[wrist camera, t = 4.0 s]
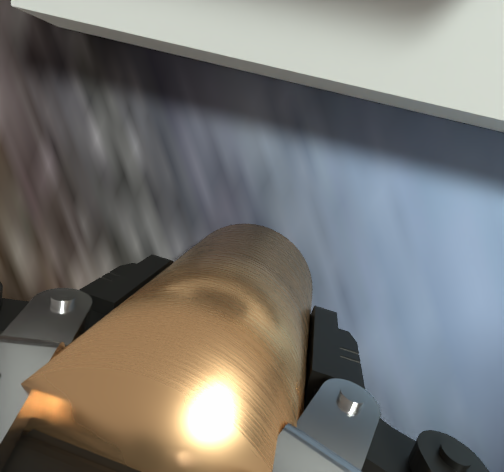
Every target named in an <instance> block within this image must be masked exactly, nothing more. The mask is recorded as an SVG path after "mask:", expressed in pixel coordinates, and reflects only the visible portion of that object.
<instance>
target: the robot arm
mask: <svg viewBox="0 0 504 472" xmlns="http://www.w3.org/2000/svg"><path fill="white" fill-rule="evenodd" d="M172 263H173V261H172V260H168V259H165V258H162V257H159V256H156V255H150V256H149V257H147V258H146V259H144V260H142V261H141V262H139V263H138V264H135V263H131V264H126V265H122V266H119V267H117V268H116V269H114V270H112V271H110V273H107V274H105V275H104V276H102V278H99V279H97V280H95V281H94V282H92V283H90V284H88V285H87V286H85V287H83V288H82V289H80V290H76V289H69V288H57V289H50V290H46V291H43V292H41V293H39V294H37V295H36V296H35V297H33V299H32V300H31V301H30V302H27V301H20V300H12V299H4V298H2V288H3V286H2V283H1V282H0V472H141V471H138V470H136V469H133V468H131V467H128V466H126V465H123V464H121V463H118V462H116V461H113V460H110V459H108V458H105V457H103V456H100V455H98V454H95V453H93V452H90V451H88V450H85V449H83V448H80V447H78V446H75V445H72V444H70V443H67V442H65V441H62V440H60V439H57V438H55V437H52V436H50V435H47V434H45V433H42V432H40V431H37V430H34V429H32V430H31V431H30V432H23V430H24V428H25V427H26V425H27V423H28V421H29V419H30V417H31V407H32V393H33V389H32V388H30V387H27V386H24V385H22V384H21V383H22V382H24V381H25V380H26V379H27V378H29V377H30V376H31V375H33V374H34V373H35V372H36V371H38V370H39V369H40V368H41V367H43V366H44V365H45V364H46V363H48V362H49V361H50V360H51V359H52V358H53V357H54V356H55V355H57V354H58V353H59V352H60V351H61V350H63V349H64V348H65V347H66V346H68V345H69V344H70V343H71V342H73V341H74V340H75V339H77V338H78V337H79V336H80V335H82V334H83V333H84V332H86V331H87V330H88V329H89V328H91V327H92V326H93V325H94V324H96V323H97V322H98V321H100V320H101V319H102V318H103V317H105V316H106V315H107V314H108V313H110V312H111V311H112V310H114V309H115V308H116V307H117V306H119V305H120V304H121V303H123V302H124V301H125V300H126V299H128V298H129V297H130V296H131V295H133V294H134V293H135V292H137V291H138V290H139V289H140V288H142V287H143V286H144V285H146V284H147V283H148V282H149V281H151V280H152V279H153V278H154V277H156V276H157V275H158V274H160V273H161V272H162V271H163V270H165V269H166V268H167V267H169V266H170V265H171V264H172ZM358 354H359V352H358V346H357V342H356V341H355V339H354V338H353V337H352V335H351V334H350V333H349V332H348V331H345V330H341V329H338V322H337V313H336V312H333V311H330V310H327V309H324V308H321V307H317V306H314V308H313V310H312V313H311V316H310V330H309V344H308V358H307V372H306V386H305V400H304V412H303V413H302V415H301V416H300V418H299V419H298V421H297V428H296V427H295V426H293V425H292V424H290V423H288V424H287V425H286V426H285V427H284V428H283V430H282V431H281V432H280V434H279V435H278V438H277V445H276V451H275V458H274V464H273V470H272V472H489V471H488V470H487V468H486V467H485V465H484V464H483V463H482V461H481V460H480V459H479V458H478V457H477V456H476V455H475V454H474V453H473V452H472V451H471V450H470V449H469V448H468V447H466V446H465V445H464V444H462V443H461V442H459V441H458V440H456V439H455V438H453V437H451V436H449V435H447V434H444V433H441V432H438V431H432V430H428V431H423V432H422V433H420V435H419V436H418V438H417V440H416V441H414V440H413V439H411V438H409V437H407V436H406V435H404V434H402V433H401V432H399V431H397V430H395V429H394V428H392V427H391V426H389V425H388V424H387V423H385V422H384V421H383V420H382V419H381V418H380V415H381V412H380V407H379V405H378V403H377V401H376V400H375V399H374V397H373V396H372V395H371V394H370V393H369V392H368V391H366V390H365V386H364V381H363V375H362V369H361V364H360V357H359V355H358Z"/></svg>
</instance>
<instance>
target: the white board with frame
mask: <svg viewBox="0 0 504 472" xmlns="http://www.w3.org/2000/svg"><path fill="white" fill-rule="evenodd" d="M11 6H13V7H15V8H17V9H20V10H22V11H24V12H26V13H28V14H31V15H33V16H35V17H37V18H40V19H42V20H44V21H46V22H48V23H51V24H53V25H55V26H57V27H61V28H65V29H69V30H74V31H78V32H82V33H86V34H90V35H95V36H99V37H103V38H107V39H112V40H116V41H120V42H124V43H128V44H133V45H137V46H141V47H145V48H150V49H154V50H158V51H162V52H166V53H171V54H175V55H179V56H183V57H188V58H192V59H196V60H200V61H204V62H209V63H213V64H217V65H221V66H225V67H230V68H234V69H238V70H242V71H247V72H251V73H255V74H259V75H263V76H268V77H272V78H276V79H280V80H285V81H289V82H293V83H297V84H301V85H306V86H310V87H314V88H318V89H323V90H327V91H331V92H335V93H339V94H344V95H348V96H352V97H356V98H361V99H365V100H369V101H373V102H377V103H382V104H386V105H390V106H394V107H398V108H403V109H407V110H411V111H415V112H420V113H424V114H428V115H432V116H436V117H441V118H445V119H449V120H453V121H458V122H462V123H466V124H470V125H474V126H479V127H483V128H487V129H491V130H496V131H500V132H504V0H11Z"/></svg>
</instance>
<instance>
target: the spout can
mask: <svg viewBox="0 0 504 472" xmlns="http://www.w3.org/2000/svg"><path fill="white" fill-rule="evenodd" d="M311 303H312V279H311V274H310V271H309V268H308V265H307V263H306V261H305V259H304V257H303V256H302V254H301V253H300V251H299V250H298V249H297V248H296V247H295V245H294V244H293V243H291V242H290V241H289V240H288V239H287V238H286V237H284V236H283V235H281V234H280V233H278V232H276V231H274V230H272V229H269V228H266V227H264V226H259V225H255V224H235V225H229V226H226V227H223V228H220V229H218V230H216V231H214V232H213V233H211V234H210V235H208V236H207V237H206V238H204V239H203V240H202V241H200V242H199V243H198V244H197V245H195V246H194V247H193V248H191V249H190V250H189V251H188V252H186V253H185V254H184V255H183V256H181V257H180V258H179V259H177V260H176V261H175V262H174V263H172V264H171V265H170V266H169V267H167V268H166V269H165V270H163V271H162V272H161V273H160V274H158V275H157V276H156V277H154V278H153V279H152V280H151V281H149V282H148V283H147V284H146V285H144V286H143V287H142V288H140V289H139V290H138V291H137V292H135V293H134V294H133V295H131V296H130V297H129V298H128V299H126V300H125V301H124V302H123V303H121V304H120V305H119V306H117V307H116V308H115V309H114V310H112V311H111V312H110V313H108V314H107V315H106V316H105V317H103V318H102V319H101V320H100V321H98V322H97V323H96V324H94V325H93V326H92V327H91V328H89V329H88V330H87V331H86V332H84V333H83V334H82V335H80V336H79V337H78V338H77V339H75V340H74V341H73V342H71V343H70V344H69V345H68V346H66V347H65V348H64V349H63V350H61V351H60V352H59V353H58V354H57V355H55V356H54V357H53V358H52V359H51V360H50V361H49V362H48V363H46V364H45V365H44V366H43V367H41V368H40V369H39V370H38V371H36V372H35V373H34V374H33V375H31V376H30V377H29V378H27V379H26V380H25V381H24V382H22V383H21V384H22V385H24V386H27V387H30V388H32V389H33V393H32V407H31V417H30V419H29V421H28V423H27V425H26V427H25V428H24V430H23V432H30V431H31V430H32V429H34V430H37V431H40V432H42V433H45V434H47V435H50V436H52V437H55V438H57V439H60V440H62V441H65V442H67V443H70V444H72V445H75V446H78V447H80V448H83V449H85V450H88V451H90V452H93V453H95V454H98V455H100V456H103V457H105V458H108V459H110V460H113V461H116V462H118V463H121V464H123V465H126V466H128V467H131V468H133V469H136V470H138V471H141V472H272V470H273V464H274V458H275V451H276V445H277V438H278V435H279V434H280V432H281V431H282V430H283V428H284V427H285V426H286V425H287V424H288V423H290V424H292V425H293V426H295V427H296V428H297V421H298V419H299V418H300V416H301V415H302V413H303V412H304V400H305V386H306V372H307V358H308V344H309V330H310V316H311Z"/></svg>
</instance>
